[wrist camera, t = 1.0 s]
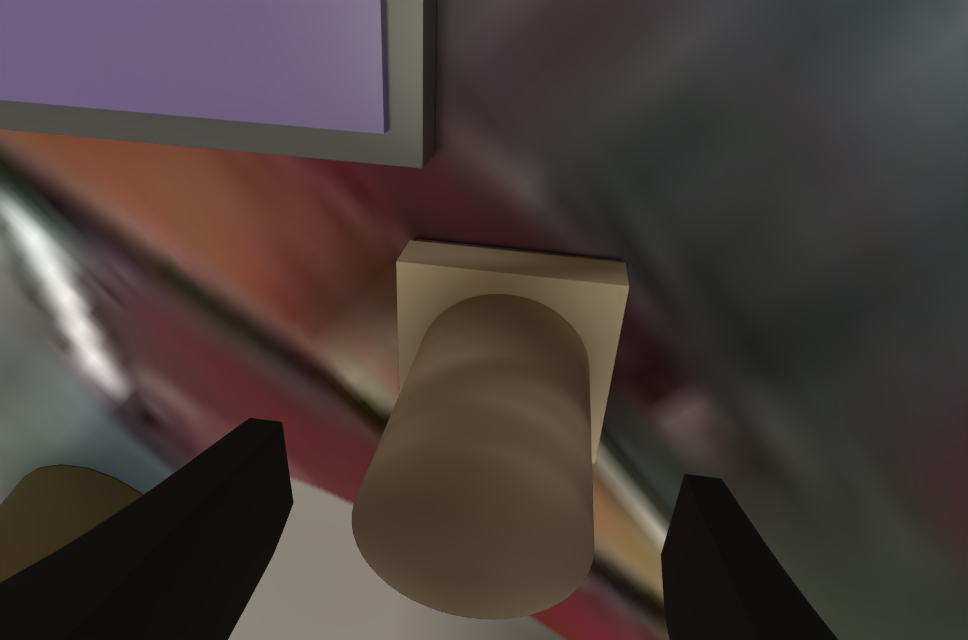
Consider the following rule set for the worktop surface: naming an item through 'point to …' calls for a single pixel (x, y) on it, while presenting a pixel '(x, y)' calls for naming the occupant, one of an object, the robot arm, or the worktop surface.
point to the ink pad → (227, 74)
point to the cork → (55, 512)
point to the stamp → (492, 427)
